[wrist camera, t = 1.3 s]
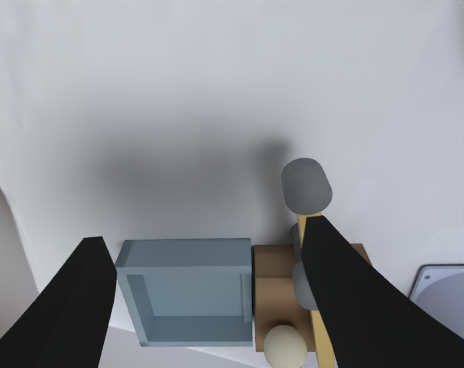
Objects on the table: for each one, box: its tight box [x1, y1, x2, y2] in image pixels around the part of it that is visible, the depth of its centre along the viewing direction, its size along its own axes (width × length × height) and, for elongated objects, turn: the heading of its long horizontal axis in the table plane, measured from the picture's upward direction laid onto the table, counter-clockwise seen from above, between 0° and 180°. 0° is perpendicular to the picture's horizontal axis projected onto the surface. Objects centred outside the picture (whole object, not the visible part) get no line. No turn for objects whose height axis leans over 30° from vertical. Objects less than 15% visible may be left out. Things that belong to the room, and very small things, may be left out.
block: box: [254, 223, 372, 352], centre depth 27 cm, size 12×9×4 cm
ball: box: [264, 325, 307, 368], centre depth 26 cm, size 4×4×4 cm
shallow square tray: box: [114, 238, 253, 347], centre depth 28 cm, size 11×11×3 cm
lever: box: [281, 158, 335, 368], centre depth 22 cm, size 20×3×2 cm, turn 12°
